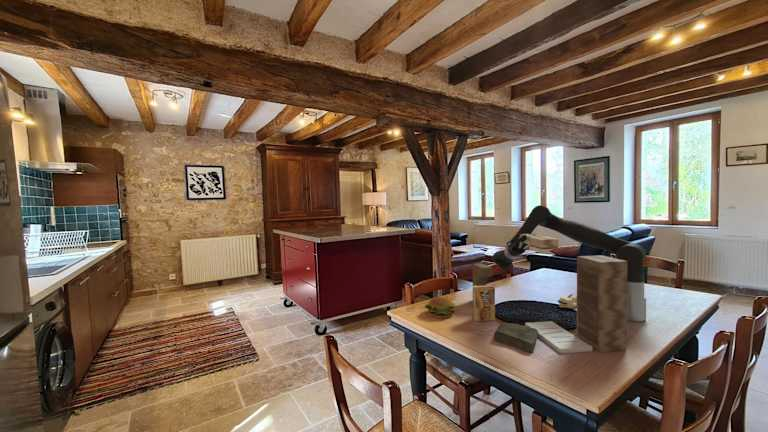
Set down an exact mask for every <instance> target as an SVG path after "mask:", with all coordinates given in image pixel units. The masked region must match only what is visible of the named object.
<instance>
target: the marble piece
mask: <svg viewBox="0 0 768 432" xmlns="http://www.w3.org/2000/svg"><path fill="white" fill-rule="evenodd" d="M493 334H494V335H493V336H494V337H493V338H494V339H495V340H496V341H497V342H498V343H501V344H503V345H506V346H508V347H513V348H515V349H518V350H520V351H523V352H526V353H528V354H529V353H530V354H532V353H533V354H534V351H535V348H536V345H537V344H536V343H537V340H538V336H537V335H538V330H537V329H534V328H531V327H527V326H525V325H523V324H519V323H511V322H510V323H509V322H500V323H499V325H498V326H497V328H496V329H495V331H494V333H493Z"/></svg>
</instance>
